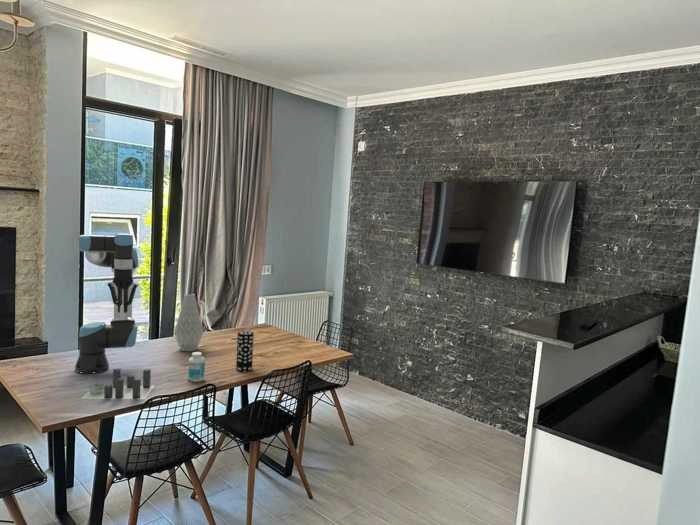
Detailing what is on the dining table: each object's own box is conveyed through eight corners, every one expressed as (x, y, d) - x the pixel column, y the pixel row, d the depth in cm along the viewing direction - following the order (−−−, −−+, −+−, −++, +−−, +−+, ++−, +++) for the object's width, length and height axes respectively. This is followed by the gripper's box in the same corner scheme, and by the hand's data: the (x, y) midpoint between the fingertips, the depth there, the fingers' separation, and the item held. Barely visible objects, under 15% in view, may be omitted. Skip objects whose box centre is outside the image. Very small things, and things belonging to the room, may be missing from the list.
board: (80, 401, 213) (80, 398, 213) (94, 387, 230) (94, 385, 230) (144, 401, 217) (144, 399, 217) (154, 387, 234) (154, 385, 233)
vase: (206, 346, 307) (207, 293, 304) (198, 353, 291) (200, 297, 287) (178, 344, 307) (179, 291, 303) (169, 352, 290) (171, 296, 287)
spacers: (101, 398, 215) (102, 380, 214) (114, 385, 231) (114, 368, 230) (141, 398, 217) (142, 380, 216) (151, 385, 233) (151, 369, 232)
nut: (88, 394, 218) (88, 387, 218) (93, 389, 224) (93, 382, 224) (100, 394, 219) (100, 387, 219) (105, 389, 225) (105, 383, 224)
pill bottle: (198, 376, 253) (199, 350, 251) (207, 380, 248) (208, 353, 247) (185, 379, 247) (186, 352, 245) (193, 383, 242) (194, 356, 241)
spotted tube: (236, 372, 262) (238, 334, 260) (235, 367, 270) (237, 331, 268) (252, 372, 264) (254, 334, 262) (251, 367, 272) (253, 330, 270)
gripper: (105, 268, 221) (104, 321, 223) (136, 270, 222) (135, 322, 225) (110, 266, 228) (110, 317, 231) (141, 267, 230) (139, 318, 233)
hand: (122, 319), depth 228 cm, fingers closed
